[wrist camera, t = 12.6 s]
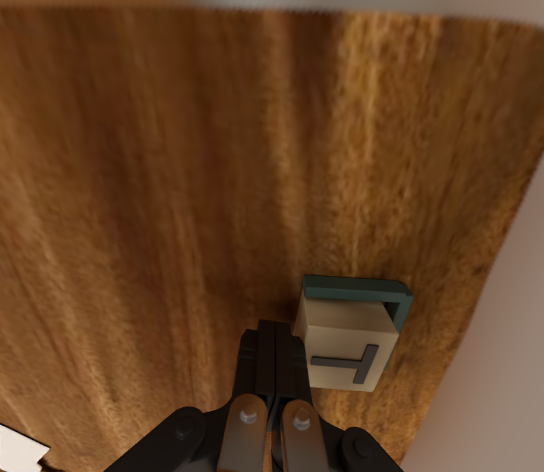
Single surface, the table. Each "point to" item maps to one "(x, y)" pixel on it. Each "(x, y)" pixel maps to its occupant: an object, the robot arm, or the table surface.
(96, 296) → the table surface
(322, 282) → the frame
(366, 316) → the letter tile
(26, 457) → the knife
